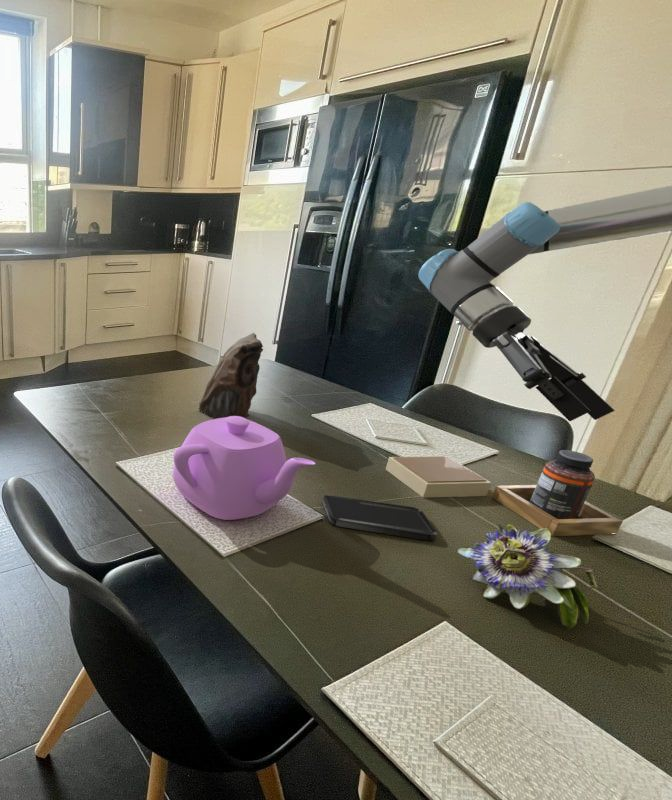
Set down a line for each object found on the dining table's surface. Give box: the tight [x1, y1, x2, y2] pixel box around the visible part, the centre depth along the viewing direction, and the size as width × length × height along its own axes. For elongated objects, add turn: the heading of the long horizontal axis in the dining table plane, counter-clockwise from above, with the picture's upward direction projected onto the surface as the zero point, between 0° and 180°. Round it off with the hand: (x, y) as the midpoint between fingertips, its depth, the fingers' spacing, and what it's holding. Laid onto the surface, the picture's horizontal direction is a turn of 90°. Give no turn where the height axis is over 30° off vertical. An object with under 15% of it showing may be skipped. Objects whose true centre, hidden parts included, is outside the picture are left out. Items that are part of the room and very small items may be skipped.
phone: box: [321, 494, 438, 542], centre depth 79 cm, size 8×1×15 cm
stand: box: [385, 455, 492, 499], centre depth 90 cm, size 12×10×3 cm
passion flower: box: [456, 522, 598, 629], centre depth 63 cm, size 11×11×12 cm
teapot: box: [172, 416, 316, 521], centre depth 79 cm, size 23×21×15 cm
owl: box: [198, 332, 264, 419], centre depth 115 cm, size 13×13×20 cm
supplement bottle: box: [529, 449, 596, 519], centre depth 80 cm, size 6×6×11 cm
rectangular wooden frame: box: [491, 484, 623, 537], centre depth 81 cm, size 11×11×2 cm
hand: (593, 416), depth 76 cm, fingers open, 13 cm apart
